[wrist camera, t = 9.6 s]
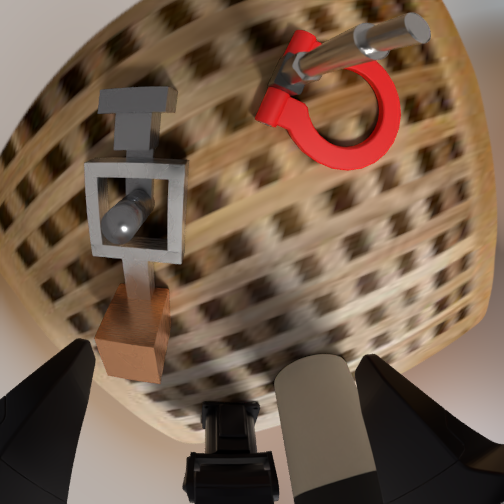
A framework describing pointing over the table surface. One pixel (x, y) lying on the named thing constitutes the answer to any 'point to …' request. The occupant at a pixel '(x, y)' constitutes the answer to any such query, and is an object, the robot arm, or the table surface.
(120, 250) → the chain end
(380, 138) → the tow hook
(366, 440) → the travel mug
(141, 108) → the hook
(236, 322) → the table surface
